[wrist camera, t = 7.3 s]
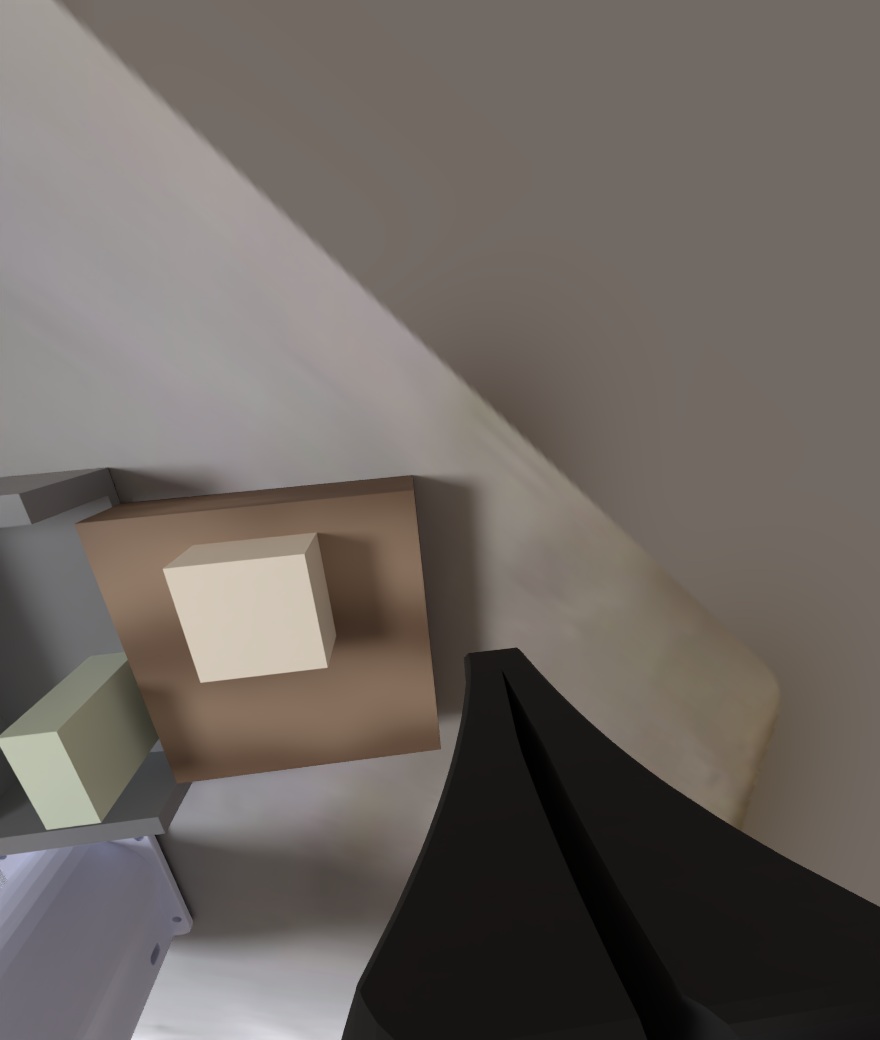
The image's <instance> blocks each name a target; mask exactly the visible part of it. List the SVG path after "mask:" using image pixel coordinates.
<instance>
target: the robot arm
mask: <svg viewBox="0 0 880 1040" xmlns="http://www.w3.org/2000/svg"><path fill="white" fill-rule="evenodd" d="M464 664H465V677H466V688H465V698H464V705H463V711H462V718H461V723H460V728H459V733H458V737H457V741H456V746H455V750H454V754H453V758H452V762H451V765H450V769H449V773H448V776H447V779H446V782H445V786H444V789H443V792H442V795H441V798H440V801H439V804H438V807H437V809H436V812H435V815H434V818H433V821H432V823H431V826H430V829H429V831H428V834H427V837H426V839H425V842H424V844H423V847H422V849H421V852H420V854H419V856H418V859H417V861H416V863H415V865H414V868H413V870H412V872H411V875H410V877H409V879H408V881H407V884H406V886H405V888H404V891H403V893H402V895H401V897H400V900H399V902H398V904H397V906H396V908H395V910H394V913H393V915H392V917H391V919H390V921H389V923H388V925H387V927H386V929H385V931H384V933H383V935H382V936H381V938H380V940H379V942H378V944H377V946H376V948H375V950H374V952H373V954H372V956H371V958H370V960H369V962H368V964H367V966H366V968H365V970H364V972H363V974H362V976H361V978H360V980H359V982H358V984H357V987H356V991H355V994H354V998H353V1001H352V1004H351V1008H350V1011H349V1015H348V1018H347V1022H346V1025H345V1028H344V1032H343V1036H342V1039H341V1040H880V907H879V906H877V905H875V904H873V903H871V902H869V901H867V900H866V899H864V898H862V897H860V896H858V895H856V894H854V893H852V892H850V891H848V890H847V889H845V888H843V887H841V886H839V885H837V884H835V883H833V882H831V881H829V880H828V879H826V878H824V877H822V876H820V875H818V874H816V873H814V872H812V871H810V870H808V869H806V868H805V867H803V866H801V865H799V864H797V863H795V862H793V861H791V860H790V859H788V858H786V857H784V856H782V855H780V854H779V853H777V852H775V851H774V850H772V849H770V848H769V847H767V846H765V845H763V844H762V843H760V842H758V841H757V840H755V839H753V838H752V837H750V836H748V835H746V834H745V833H743V832H741V831H740V830H738V829H736V828H735V827H733V826H731V825H730V824H728V823H726V822H725V821H723V820H722V819H720V818H718V817H717V816H715V815H714V814H712V813H711V812H709V811H708V810H706V809H705V808H703V807H702V806H700V805H699V804H697V803H695V802H694V801H692V800H691V799H689V798H688V797H686V796H685V795H683V794H682V793H680V792H679V791H677V790H676V789H674V788H673V787H671V786H670V785H668V784H667V783H666V782H664V781H663V780H661V779H660V778H659V777H657V776H656V775H654V774H653V773H652V772H650V771H649V770H648V769H646V768H645V767H644V766H642V765H641V764H640V763H638V762H637V761H636V760H635V759H633V758H632V757H631V756H629V755H628V754H627V753H626V752H624V751H623V750H622V749H621V748H619V747H618V746H617V745H616V744H615V743H613V742H612V741H611V740H610V739H609V738H607V737H606V736H605V735H604V734H603V733H602V732H601V731H600V730H598V729H597V728H596V727H595V726H594V725H593V724H592V723H590V722H589V721H588V720H587V719H586V718H585V717H584V716H583V715H582V714H581V713H580V712H578V711H577V710H576V709H575V708H574V707H573V706H572V705H571V704H570V703H569V702H568V701H567V700H566V699H565V698H564V697H563V696H562V695H561V694H560V693H559V692H558V691H557V690H556V689H555V688H554V687H553V686H552V685H551V684H550V683H549V682H548V681H547V680H546V678H545V677H544V676H543V675H542V674H541V673H540V672H539V671H538V670H537V669H536V668H535V666H534V665H533V664H532V663H531V662H530V661H529V660H528V659H527V657H526V656H525V655H524V654H523V653H522V652H521V651H520V650H519V649H518V648H509V649H501V650H492V651H484V652H476V653H468V654H467V655H466V656H465V657H464ZM0 870H1V872H2V873H3V875H4V876H5V878H6V880H7V881H6V883H5V884H4V885H3V886H2V888H1V889H0V1040H131V1038H132V1035H133V1033H134V1031H135V1028H136V1026H137V1023H138V1021H139V1018H140V1016H141V1014H142V1011H143V1009H144V1006H145V1004H146V1002H147V999H148V997H149V994H150V992H151V990H152V987H153V985H154V982H155V980H156V978H157V975H158V973H159V970H160V968H161V966H162V963H163V961H164V958H165V956H166V954H167V951H168V949H169V946H170V944H171V942H172V939H173V937H174V936H178V935H184V934H187V933H188V932H190V930H191V928H192V925H193V920H192V918H191V916H190V914H189V911H188V909H187V907H186V905H185V902H184V900H183V898H182V896H181V893H180V891H179V889H178V887H177V884H176V882H175V880H174V878H173V875H172V873H171V871H170V869H169V866H168V864H167V862H166V860H165V857H164V855H163V853H162V851H161V848H160V846H159V844H158V842H157V839H156V837H155V835H151V836H144V837H136V838H129V839H122V840H114V841H107V842H100V843H92V844H85V845H78V846H70V847H63V848H56V849H48V850H41V851H34V852H26V853H19V854H12V855H4V856H0Z"/></svg>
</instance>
